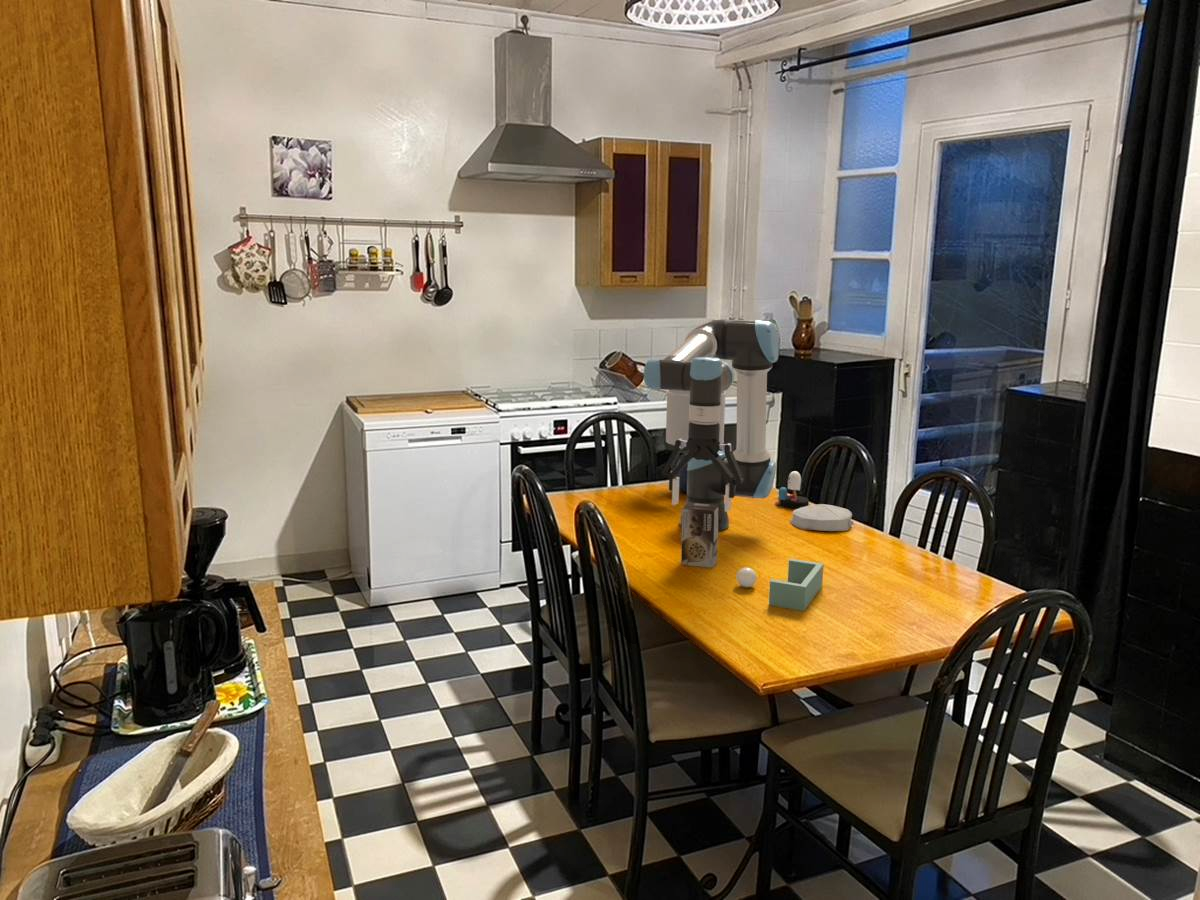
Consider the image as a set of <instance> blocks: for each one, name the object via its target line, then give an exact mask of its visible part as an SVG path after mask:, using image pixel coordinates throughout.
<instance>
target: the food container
mask: <svg viewBox="0 0 1200 900" xmlns="http://www.w3.org/2000/svg"><path fill="white" fill-rule="evenodd" d="M852 517H853V512H852V511H850V510H849V509H847V508H844V507H842V506H841V507H840V506H837V505H832V504H824V503H818V504H809V505H808V506H806V507H801V508H799V509H793V511H792V518H791V519H790V520H789V521H790V523H791V525H792V526H794V527H796V528H799V529H801V530H805V531H806V530H814V531H821V532H823V531H824V532H825V531H826V532H845V531H848V530H851V528H852V527H854V526H855V523H854V521H853V520H852Z"/></svg>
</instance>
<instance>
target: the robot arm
mask: <svg viewBox="0 0 1200 900" xmlns="http://www.w3.org/2000/svg"><path fill="white" fill-rule="evenodd" d="M779 350H780V343H779V334H778V330H777V328H776V326H775V324H774V323H773V322H771V321H768V320H760V319H727V318H726V319H725V318H722V319H716V320H712V321H709V322H705V323H704V324H700V325H699V326H697V327H695V328H694V329H692V330H691V331H690V332H689V333H688V334H687V335H686V337H685V340H684V341H683V342H682V343H681V344H680V345H679V346H677V347H676V348H675V349H674V350H673V351H672V352H670V353H669V354H668V355H667V356H666V357H665V358H662V359H659V358H656V359H655V358H654V359H648V360H647V361H646V362H645V365H644V368H643V370H644V371H643V381H644V384H645V386H646V387H647V388H648V389H653V390H659V391H660V390H664V391H665V390H666V391H667V390H681V391H690V403H689V420H690V421H691V422H690V423H689V429H688V441H685V440H683V439H682V438H680V439H678V440H676V442H675V445H674V448H673V450H672V452H671V454H670V456H669V458H668V460H667V462H666V463H665V466H664V468H663V469H662V471H661V475H663V476H666V477H668V490H669V491H671V492H672V493H671V505H672V506H676V505H677V504H679V501H680V499H679V498H680V490H679V477H676V476H677V474H678V473H679V472H680V471H681V470H682V469H683V468H684V467H685V466H686V465H687V464H688V468H687V493H686V500H685V504H684V506H685V505H686V504H687V503H688V502H689V503H702V504H713V505H719V524H718V532H720V531H721V532H722V531H725V530H727V529H729V528H730V517H729V514H728V512H729V511H731V510H732V499H734V498H735V497H741V498H747V499H753V500H755V499H767V498H768V497H769V496H770V494H771V492H772V488H773V486H774V481H775V477H776V471H777V462H776V461H774V460H771V453H770V452H769V451H768V450H767V449H766V442H767V441H766V440H767V439H766V437H767V436H766V435H767V432H766V431H767V392H768V391H767V388H768V386H767V385H768V372H769V371H770V370H771V369H772V368H773V363H776V362H777V361H778V359H779V355H780V354H779ZM722 360H725V361H731V364H729V363H727V362H725V361H722ZM734 371H735V372H736V449H735V450H733V444H732V443H731V442H728V443H723V444H720V442H719V434H720V424H719V423H718V421H720V407H721V392H722V391H725V392H726V391H727V390H728V389H729V388H730V387H731V386H732V385H733V383H734V381H735V372H734ZM685 446H687V447H685ZM684 448H687V449H688V450H689V451H690V452H689V453H688V454H687V455H686V457H685V458H684V459H683V460H682V461H681V462H680V463H679V464H678V465H677V464H676V461H677V459H679V456H680V454H681V453H682V450H683V449H684ZM688 450H687V451H688ZM675 464H676V467H674V465H675ZM673 467H674V469H673V470H672V468H673ZM679 523H680V526H681V527H682V514H680V522H679Z"/></svg>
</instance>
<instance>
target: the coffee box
mask: <svg viewBox="0 0 1200 900" xmlns="http://www.w3.org/2000/svg"><path fill="white" fill-rule="evenodd" d="M685 504H686V503H685ZM685 504H684V506H683V507H682V508H681V515H682V526H681V555H680V556H681V557H680V558H681V559H680V560H681V561H680V565H682V566H692V567H702V568H710V569H713V568H714V567H716V565H717V563H718V559H719V558H718V555H719V554H718V552H719V550H718V549H719V531H718V524H719V505H713V504H702V503H689V502H688V503H687V504H686V505H685Z"/></svg>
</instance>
